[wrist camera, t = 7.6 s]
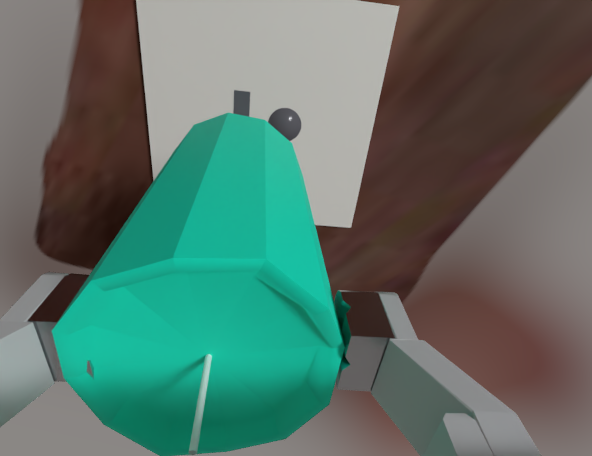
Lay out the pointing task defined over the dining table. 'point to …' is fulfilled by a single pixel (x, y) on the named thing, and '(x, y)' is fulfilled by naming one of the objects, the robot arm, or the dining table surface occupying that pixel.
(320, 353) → the candle
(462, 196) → the dining table surface
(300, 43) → the tile
